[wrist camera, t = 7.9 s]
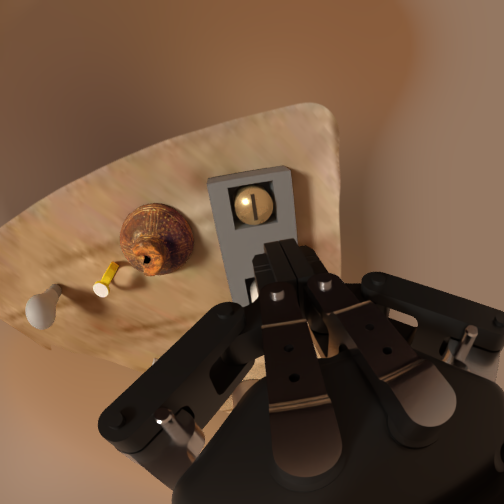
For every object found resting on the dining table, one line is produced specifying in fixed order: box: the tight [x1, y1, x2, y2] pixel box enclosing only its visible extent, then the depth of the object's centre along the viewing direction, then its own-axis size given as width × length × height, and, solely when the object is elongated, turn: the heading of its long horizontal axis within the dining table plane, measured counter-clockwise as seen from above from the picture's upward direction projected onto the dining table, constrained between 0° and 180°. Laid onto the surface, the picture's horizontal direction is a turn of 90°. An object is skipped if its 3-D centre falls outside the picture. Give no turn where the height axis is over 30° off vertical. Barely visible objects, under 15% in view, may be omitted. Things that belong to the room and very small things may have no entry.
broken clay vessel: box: [120, 203, 194, 276], centre depth 38 cm, size 12×12×7 cm
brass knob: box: [234, 183, 273, 225], centre depth 37 cm, size 5×5×4 cm
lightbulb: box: [26, 284, 62, 329], centre depth 37 cm, size 6×6×11 cm
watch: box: [93, 262, 119, 297], centre depth 40 cm, size 6×3×6 cm, turn 141°
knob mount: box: [207, 166, 298, 307], centre depth 41 cm, size 22×11×4 cm, turn 8°
